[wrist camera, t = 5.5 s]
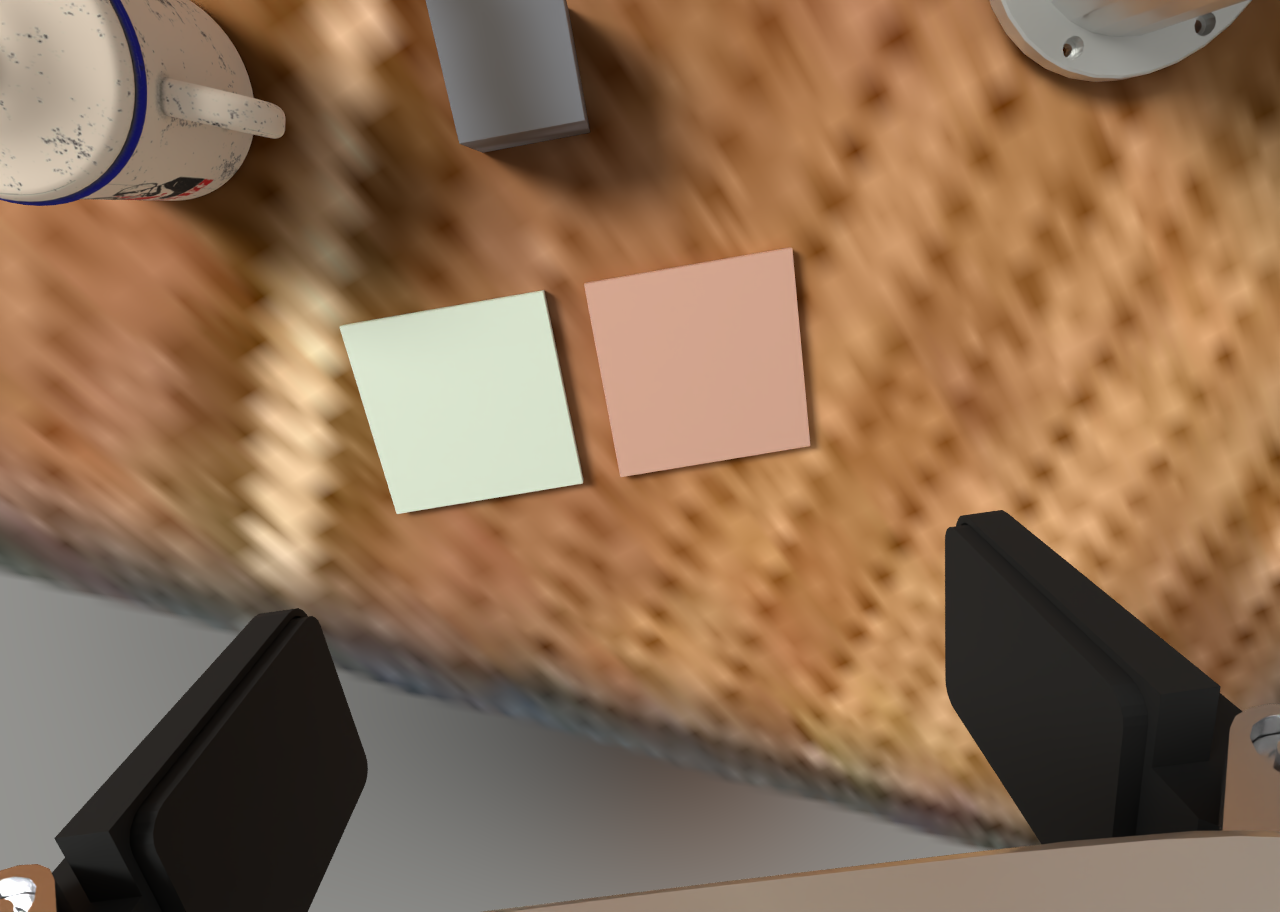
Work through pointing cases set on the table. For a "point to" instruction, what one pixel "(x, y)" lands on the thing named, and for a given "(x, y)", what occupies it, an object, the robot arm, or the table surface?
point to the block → (509, 71)
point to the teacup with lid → (121, 102)
